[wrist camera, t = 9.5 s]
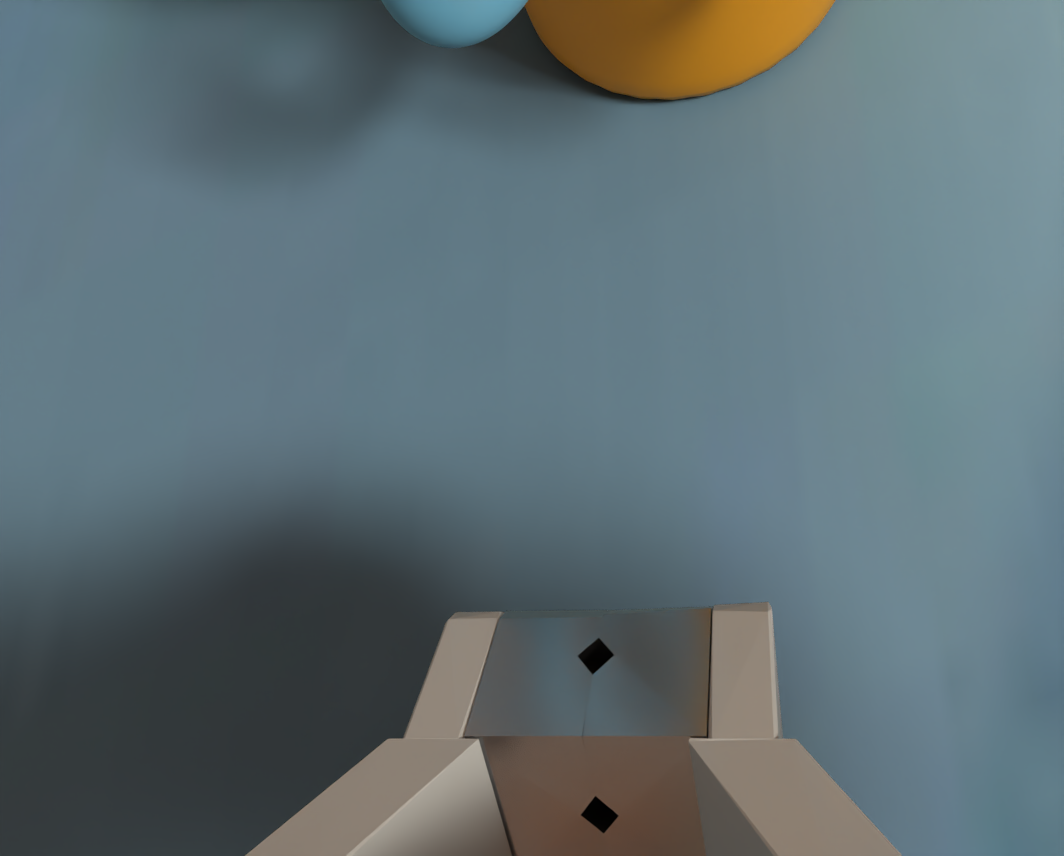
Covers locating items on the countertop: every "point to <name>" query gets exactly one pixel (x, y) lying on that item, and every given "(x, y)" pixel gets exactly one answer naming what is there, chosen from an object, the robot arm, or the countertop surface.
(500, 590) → the countertop surface
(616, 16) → the vase
